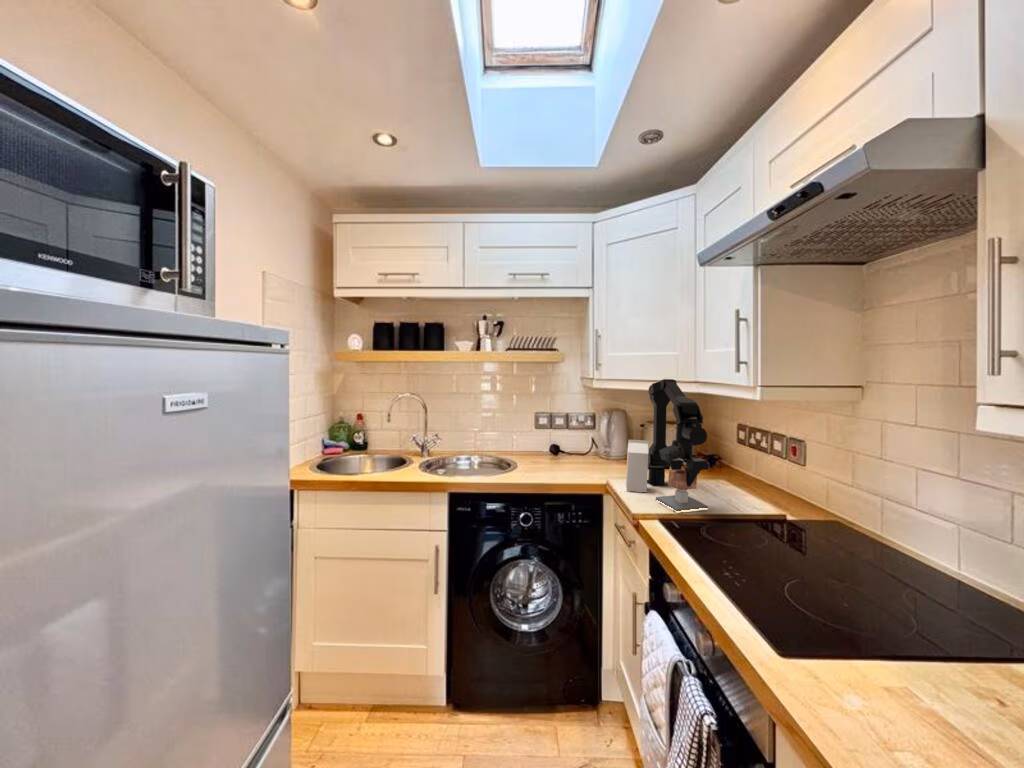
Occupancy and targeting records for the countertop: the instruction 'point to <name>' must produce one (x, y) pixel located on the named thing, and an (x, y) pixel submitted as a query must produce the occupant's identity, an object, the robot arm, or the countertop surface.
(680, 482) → the collar
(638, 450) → the milk carton
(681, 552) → the countertop surface
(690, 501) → the key base
